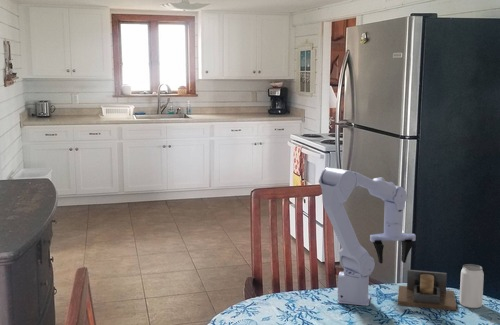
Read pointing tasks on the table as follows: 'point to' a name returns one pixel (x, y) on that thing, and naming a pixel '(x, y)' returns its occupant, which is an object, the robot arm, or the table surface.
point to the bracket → (436, 300)
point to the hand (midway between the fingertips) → (391, 262)
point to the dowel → (426, 284)
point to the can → (471, 286)
